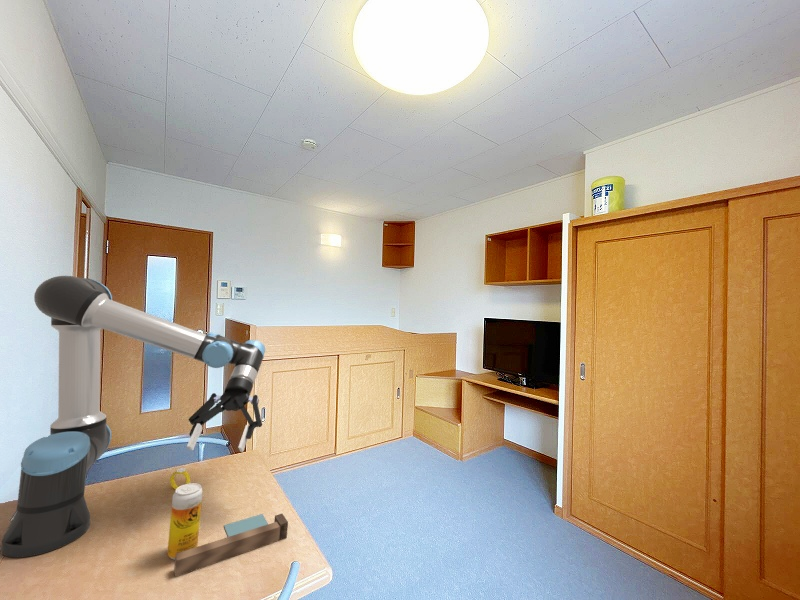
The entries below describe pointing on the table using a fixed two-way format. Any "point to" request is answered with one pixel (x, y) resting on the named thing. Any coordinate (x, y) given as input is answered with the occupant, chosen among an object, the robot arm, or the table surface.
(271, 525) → the brown l-shaped hook tool
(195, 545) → the orange soda can
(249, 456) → the table surface
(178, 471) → the watch
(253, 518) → the pad
